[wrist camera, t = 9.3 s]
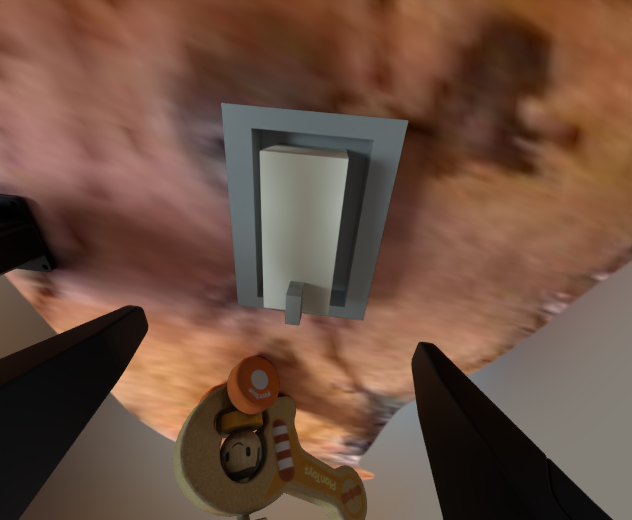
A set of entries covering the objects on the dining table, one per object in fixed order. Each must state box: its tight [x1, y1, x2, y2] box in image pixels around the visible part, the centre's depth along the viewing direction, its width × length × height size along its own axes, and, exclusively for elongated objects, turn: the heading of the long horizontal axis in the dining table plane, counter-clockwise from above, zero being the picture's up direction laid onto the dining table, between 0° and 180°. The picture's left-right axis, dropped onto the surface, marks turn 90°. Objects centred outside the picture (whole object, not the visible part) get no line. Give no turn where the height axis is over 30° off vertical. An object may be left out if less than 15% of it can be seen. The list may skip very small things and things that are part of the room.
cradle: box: [221, 103, 408, 320], centre depth 17 cm, size 9×13×3 cm
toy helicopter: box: [173, 356, 367, 520], centre depth 23 cm, size 8×21×14 cm, turn 49°
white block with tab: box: [260, 143, 349, 325], centre depth 15 cm, size 4×9×6 cm, turn 176°
